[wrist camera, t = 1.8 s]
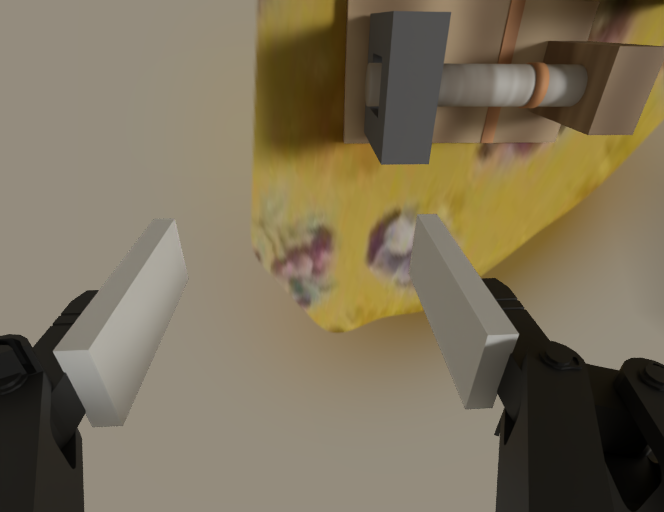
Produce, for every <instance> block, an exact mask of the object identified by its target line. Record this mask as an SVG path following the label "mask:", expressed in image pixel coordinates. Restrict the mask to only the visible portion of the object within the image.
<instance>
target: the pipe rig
mask: <svg viewBox="0 0 664 512" xmlns="http://www.w3.org/2000/svg"><path fill="white" fill-rule="evenodd" d="M599 3H600V1H584V0H347V23H346V60H345V96H344V132H343V141H344V143H369V141H368V139H367V137H366V135H365V133H364V122H365V104H366V106H379V98H380V84H381V70H382V63H368V50H369V32H370V14H372V13H381V12H390V11H424V12H451V18H450V25H449V32H448V38H447V45H446V52H445V58H444V65H443V72H442V78H441V85H440V92H439V98H438V105H437V112H436V118H435V125H434V132H433V139H432V143H524V142H555V141H556V138H557V134H558V131H559V128H560V125H561V124H562V125H564V126H567V127H569V128H572V129H574V130H577V131H579V132H582V133H584V134H587V135H633V132H634V130H635V127H636V125H637V123H638V120H639V118H640V116H641V113H642V111H643V108H644V106H645V104H646V101H647V99H648V97H649V94H650V92H651V90H652V87H653V85H654V82H655V80H656V78H657V75H658V73H659V71H660V68H661V66H662V63H663V61H664V46H650V45H636V44H621V43H607V42H593V41H588V37H589V34H590V31H591V28H592V25H593V22H594V19H595V15H596V12H597V9H598V6H599Z"/></svg>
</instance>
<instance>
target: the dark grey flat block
mask: <svg viewBox="0 0 664 512" xmlns="http://www.w3.org/2000/svg"><path fill="white" fill-rule="evenodd" d="M450 18H451V12H424V11H390V12H381V13H372V14H370V32H369V50H368V63H382V70H381V84H380V98H379V106H366V104H365V122H364V133H365V135H366V137H367V139H368V141H369V143H370V145H371V146H372V148H373V150H374V152H375V154H376V156H377V158H378V159H379V161H380V163H381V164H429V159H430V152H431V145H432V139H433V132H434V125H435V118H436V112H437V105H438V98H439V92H440V85H441V78H442V72H443V65H444V58H445V52H446V45H447V38H448V32H449V25H450Z"/></svg>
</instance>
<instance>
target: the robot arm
mask: <svg viewBox="0 0 664 512" xmlns="http://www.w3.org/2000/svg"><path fill="white" fill-rule="evenodd" d="M409 275H410V277H411V280H412V282H413V285H414V287H415V290H416V292H417V294H418V297H419V299H420V302H421V304H422V306H423V309H424V311H425V314H426V316H427V318H428V321H429V323H430V325H431V328H432V330H433V333H434V335H435V338H436V340H437V342H438V345H439V347H440V350H441V352H442V355H443V357H444V359H445V362H446V364H447V367H448V369H449V371H450V374H451V376H452V379H453V381H454V383H455V386H456V388H457V391H458V393H459V395H460V398H461V400H462V402H463V405H464V407H465V409H480V408H492V407H493V404H494V402H495V399H496V396H497V394H498V395H499V397H500V399H501V401H502V403H503V405H504V407H505V408H504V410H503V413H502V416H501V418H500V421H499V423H498V426H497V428H496V431H495V434H494V435H496V436H499V434H500V443H499V444H500V445H499V462H498V479H497V497H496V512H664V365H663V364H660V363H658V362H656V361H653V360H649V359H645V358H630V359H628V360H626V361H625V362H624V363H623V365H622V367H621V369H620V370H614V369H609V368H604V367H599V366H594V365H590V364H586V363H585V362H584V360H583V359H582V358H581V357H580V356H579V355H578V354H577V353H576V352H575V351H573V350H572V349H570V348H569V347H567V346H565V345H562V344H560V343H557V342H554V341H550V340H549V339H548V338H547V336H546V335H545V334H544V333H543V331H542V330H541V329H540V327H539V326H538V325H537V324H536V322H535V321H534V320H533V318H532V317H531V316H530V314H529V313H528V312H527V310H524V307H523V305H522V304H521V303H520V301H517V297H516V296H515V295H514V294H513V292H512V291H511V290H510V288H509V287H507V286H506V285H504V284H503V283H502V282H500V281H499V280H497V279H496V278H485V279H481V278H480V276H479V275H478V273H477V272H476V271H475V269H474V268H473V266H472V265H471V263H470V262H469V260H468V259H467V257H466V256H465V255H464V253H463V252H462V250H461V249H460V247H459V246H458V244H457V243H456V241H455V240H454V239H453V237H452V236H451V234H450V233H449V231H448V230H447V228H446V227H445V225H444V224H443V223H442V221H441V220H440V218H439V217H438V215H437V214H417V219H416V226H415V233H414V240H413V247H412V254H411V261H410V268H409ZM187 282H188V275H187V270H186V266H185V261H184V257H183V253H182V248H181V244H180V239H179V235H178V231H177V226H176V222H175V219H153V220H152V222H151V223H150V224H149V226H148V227H147V228H146V230H145V231H144V232H143V233H142V235H141V236H140V237H139V239H138V240H137V241H136V243H135V244H134V245H133V247H132V248H131V250H129V252H128V253H127V255H126V256H125V257H124V258H123V260H122V261H121V262H120V264H119V265H118V266H117V268H116V269H115V270H114V271H113V273H112V274H111V276H110V277H109V278H108V279H107V281H106V282H105V283H104V285H103V286H102V287H101V289H100V290H89V291H86V292H84V293H83V294H81V295H80V296H78V297H77V298H75V299H74V300H73V301H71V302H70V303H69V305H68V306H67V307H66V308H65V309H64V311H63V312H62V313H61V316H59V317H58V318H57V319H56V320H55V322H54V323H53V326H50V328H49V329H48V330H47V331H46V333H45V334H44V335H43V336H42V337H41V338H40V340H39V341H38V342H37V343H36V344H35V346H34V347H33V348H32V346H31V344H30V343H29V341H28V339H27V338H25V337H23V336H21V335H12V334H9V335H3V336H0V512H84V490H83V461H82V459H83V458H82V438H81V435H80V432H79V430H78V428H77V427H78V425H79V423H80V422H81V420H82V418H83V416H84V415H85V414H86V416H87V418H88V419H89V421H90V423H91V425H92V427H107V426H123V424H124V422H125V420H126V418H127V415H128V413H129V411H130V409H131V407H132V404H133V402H134V400H135V398H136V395H137V393H138V391H139V389H140V387H141V384H142V382H143V380H144V377H145V375H146V373H147V371H148V369H149V366H150V364H151V362H152V360H153V358H154V355H155V353H156V351H157V349H158V346H159V344H160V342H161V340H162V337H163V335H164V333H165V331H166V328H167V326H168V324H169V322H170V320H171V317H172V315H173V313H174V311H175V308H176V306H177V304H178V302H179V300H180V297H181V295H182V293H183V291H184V288H185V286H186V284H187Z"/></svg>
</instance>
